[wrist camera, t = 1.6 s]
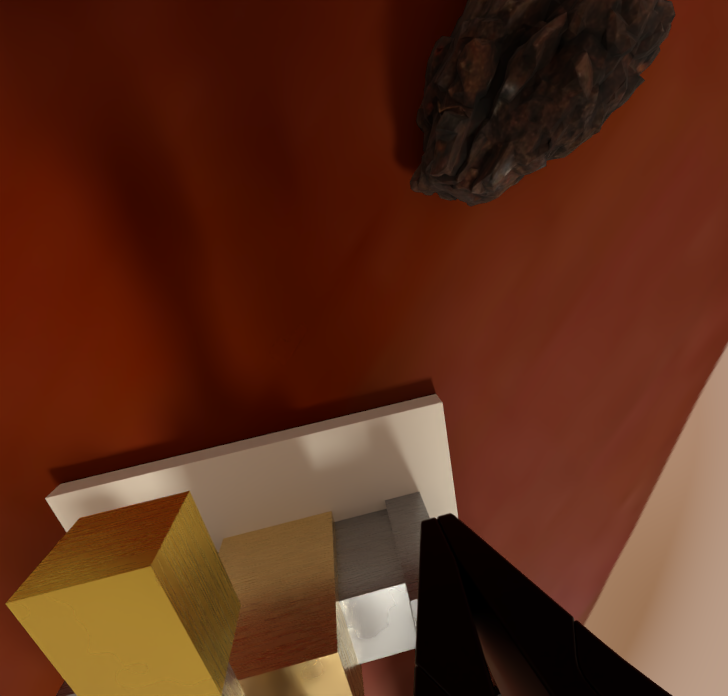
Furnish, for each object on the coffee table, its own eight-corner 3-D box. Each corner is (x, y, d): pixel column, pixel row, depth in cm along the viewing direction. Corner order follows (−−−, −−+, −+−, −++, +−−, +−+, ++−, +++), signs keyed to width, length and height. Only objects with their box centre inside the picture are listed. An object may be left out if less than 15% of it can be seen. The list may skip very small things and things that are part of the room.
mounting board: (463, 587, 23) (469, 601, 22) (170, 667, 22) (163, 686, 21) (436, 393, 18) (442, 402, 18) (60, 484, 17) (45, 498, 16)
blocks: (432, 565, 21) (482, 710, 14) (172, 636, 20) (102, 823, 14) (418, 488, 19) (469, 615, 13) (129, 562, 18) (25, 740, 12)
